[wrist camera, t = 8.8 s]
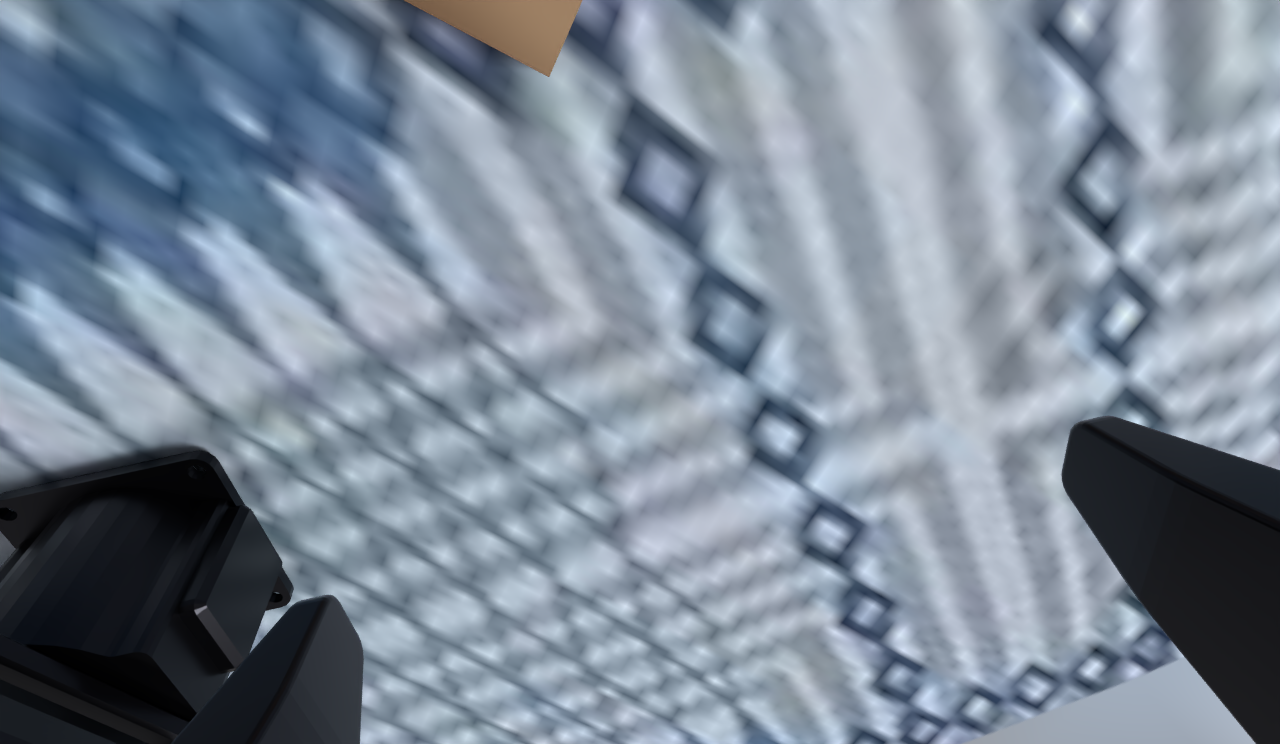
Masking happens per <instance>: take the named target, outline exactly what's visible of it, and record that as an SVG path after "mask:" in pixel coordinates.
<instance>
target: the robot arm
mask: <svg viewBox="0 0 1280 744" xmlns="http://www.w3.org/2000/svg"><path fill="white" fill-rule="evenodd" d="M193 466H200V467H202V468H203V469H205V470H206V471H200V470H197V469H195V468H194V467H193ZM1062 482H1063V486H1064V488H1065V491H1066V493H1067V495H1068V496H1069V498H1070V499H1071V501H1072V502H1073V504H1074V505H1075V507H1076V508H1077V510H1078V511H1079V513H1080V514H1081V516H1082V517H1083V519H1084V520H1085V522H1086V523H1087V525H1088V526H1089V528H1090V529H1091V531H1092V532H1093V534H1094V535H1095V537H1096V538H1097V540H1098V541H1099V543H1100V544H1101V546H1102V547H1103V549H1104V550H1105V552H1106V553H1107V555H1108V556H1109V558H1110V559H1111V561H1112V562H1113V564H1114V565H1115V567H1116V568H1117V570H1118V571H1119V573H1120V574H1121V576H1122V577H1123V579H1124V580H1125V582H1126V583H1127V584H1128V586H1129V587H1130V589H1131V590H1132V591H1133V593H1134V594H1135V596H1136V597H1137V598H1138V600H1139V601H1140V602H1141V604H1142V605H1143V606H1144V607H1145V609H1146V610H1147V611H1148V613H1149V614H1150V615H1151V616H1152V618H1153V619H1154V620H1155V621H1156V622H1157V624H1158V625H1159V626H1160V627H1161V629H1162V630H1163V631H1164V632H1165V633H1166V635H1167V636H1168V637H1169V638H1170V640H1171V641H1172V642H1173V643H1174V644H1175V646H1176V647H1177V648H1178V649H1179V651H1180V652H1181V653H1182V654H1183V655H1184V657H1185V658H1186V659H1187V660H1188V661H1189V663H1190V664H1191V665H1192V666H1193V668H1194V669H1195V670H1196V671H1197V673H1198V674H1199V675H1200V676H1201V677H1202V679H1203V680H1204V681H1205V682H1206V684H1207V685H1208V686H1209V687H1210V688H1211V690H1212V691H1213V692H1214V693H1215V694H1216V696H1217V697H1218V698H1219V699H1220V701H1221V702H1222V703H1223V704H1224V705H1225V707H1226V708H1227V709H1228V710H1229V711H1230V713H1231V714H1232V715H1233V716H1234V718H1235V719H1236V720H1237V721H1238V723H1239V724H1240V725H1241V726H1242V727H1243V729H1244V730H1245V731H1246V732H1247V734H1248V735H1249V736H1250V737H1251V738H1252V740H1253V741H1254V742H1255V743H1256V744H1280V470H1277V469H1274V468H1271V467H1268V466H1265V465H1262V464H1259V463H1256V462H1253V461H1250V460H1246V459H1243V458H1240V457H1237V456H1234V455H1231V454H1228V453H1225V452H1222V451H1219V450H1216V449H1213V448H1210V447H1206V446H1203V445H1200V444H1197V443H1194V442H1191V441H1188V440H1185V439H1182V438H1179V437H1176V436H1173V435H1169V434H1166V433H1163V432H1160V431H1157V430H1154V429H1151V428H1148V427H1145V426H1142V425H1139V424H1136V423H1133V422H1129V421H1126V420H1123V419H1120V418H1117V417H1113V416H1102V417H1097V418H1093V419H1089V420H1084V421H1080V422H1078V423H1076V424H1075V425H1074V426H1073V427H1072V429H1071V431H1070V434H1069V439H1068V444H1067V449H1066V454H1065V458H1064V463H1063V468H1062ZM6 507H7V508H6ZM8 508H10V509H13V510H14V511H15V512H14V511H11V510H9V509H8ZM0 531H1V532H2V533H3V534H4V536H5V537H6V538H7V539H8V540H9V541H10V543H11V544H12V545H13V546H14V547H15V548H16V550H15V551H14V552H13V554H12V555H11V556H10V557H9V558H8V560H7V561H6V562H5V563H4V564H3V566H2V567H1V568H0V744H360V729H361V707H362V684H363V662H364V656H363V648H362V644H361V640H360V638H359V636H358V634H357V632H356V631H355V629H354V627H353V625H352V623H351V622H350V620H349V618H348V616H347V615H346V613H345V611H344V609H343V607H342V606H341V604H340V602H339V601H338V599H337V598H335V597H334V596H332V595H323V596H319V597H314V598H310V599H306V600H301V601H299V602H297V603H295V604H294V605H292V606H291V607H290V608H289V609H288V611H287V612H286V613H285V614H284V615H283V616H282V617H281V619H280V620H279V621H278V622H277V623H276V624H275V625H274V627H273V628H272V629H271V630H270V631H269V632H268V633H267V635H266V636H265V637H264V638H263V639H262V640H261V641H260V642H259V644H258V645H257V646H256V647H255V648H254V649H253V650H252V652H251V653H250V650H251V648H252V645H253V642H254V640H255V637H256V634H257V631H258V629H259V626H260V623H261V621H262V618H263V615H264V613H265V611H267V610H271V609H275V608H280V607H283V606H285V605H287V604H288V603H289V602H290V599H291V596H292V593H293V590H294V588H293V585H292V583H291V581H290V580H289V578H288V576H287V575H286V573H285V571H284V570H283V568H282V560H281V559H280V557H279V555H278V554H277V552H276V550H275V549H274V547H273V545H272V544H271V542H270V540H269V538H268V537H267V535H266V533H265V532H264V530H263V528H262V527H261V525H260V523H259V522H258V520H257V518H256V517H255V515H254V513H253V512H252V510H251V509H250V508H248V507H247V506H246V505H245V504H244V503H243V501H242V499H241V498H240V496H239V494H238V493H237V491H236V489H235V488H234V486H233V484H232V482H231V481H230V479H229V477H228V476H227V474H226V472H225V471H224V469H223V467H222V466H221V464H220V462H219V461H218V460H217V458H216V457H215V456H213V455H211V454H210V453H208V452H203V451H193V452H189V453H184V454H180V455H175V456H170V457H166V458H161V459H157V460H152V461H147V462H143V463H138V464H134V465H129V466H124V467H120V468H115V469H111V470H106V471H101V472H97V473H92V474H88V475H83V476H78V477H74V478H69V479H65V480H60V481H55V482H51V483H46V484H42V485H37V486H32V487H28V488H23V489H19V490H14V491H9V492H5V493H2V494H0ZM273 592H278V593H280V594H276V593H273ZM249 653H250V654H249ZM232 671H234V672H233V673H232V674H231V676H230V677H229V678H228V676H229V673H230V672H232ZM227 678H228V679H227Z"/></svg>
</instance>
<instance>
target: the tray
mask: <svg viewBox="0 0 1280 744" xmlns="http://www.w3.org/2000/svg"><path fill="white" fill-rule="evenodd" d="M404 1H406V2H408V3H410V4H412V5H414V6H416V7H417V8H419V9H421V10H423V11H425V12H427V13H429V14H431V15H433V16H434V17H436V18H438V19H440V20H442V21H444V22H446V23H448V24H450V25H451V26H453V27H455V28H457V29H459V30H461V31H463V32H465V33H467V34H468V35H470V36H472V37H474V38H476V39H478V40H480V41H482V42H484V43H485V44H487V45H489V46H491V47H493V48H495V49H497V50H499V51H501V52H502V53H504V54H506V55H508V56H510V57H512V58H514V59H516V60H518V61H519V62H521V63H523V64H525V65H527V66H529V67H531V68H533V69H535V70H536V71H538V72H540V73H542V74H544V75H546V76H548V77H549V76H550V74H551V71H552V69H553V67H554V64H555V62H556V60H557V57H558V55H559V53H560V51H561V48H562V46H563V44H564V41H565V39H566V37H567V34H568V32H569V30H570V28H571V25H572V23H573V21H574V18H575V16H576V14H577V11H578V9H579V7H580V4H581V2H582V0H404Z"/></svg>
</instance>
